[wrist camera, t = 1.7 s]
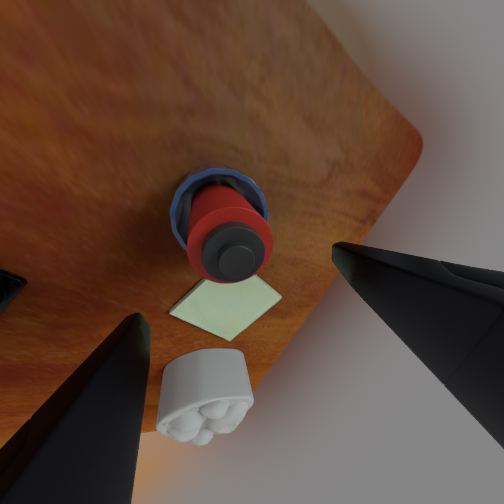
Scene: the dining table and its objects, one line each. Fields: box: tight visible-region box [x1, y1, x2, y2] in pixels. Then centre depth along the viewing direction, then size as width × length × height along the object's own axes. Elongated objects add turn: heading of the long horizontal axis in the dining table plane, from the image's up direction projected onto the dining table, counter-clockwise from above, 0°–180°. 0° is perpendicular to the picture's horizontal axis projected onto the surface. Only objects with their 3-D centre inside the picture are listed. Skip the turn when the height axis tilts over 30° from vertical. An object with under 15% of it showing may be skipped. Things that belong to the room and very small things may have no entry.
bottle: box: [187, 181, 273, 284], centre depth 14 cm, size 5×5×10 cm
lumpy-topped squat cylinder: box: [156, 348, 254, 446], centre depth 28 cm, size 10×13×9 cm
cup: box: [169, 164, 269, 251], centre depth 17 cm, size 8×8×4 cm
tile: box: [170, 274, 282, 341], centre depth 25 cm, size 11×11×1 cm
